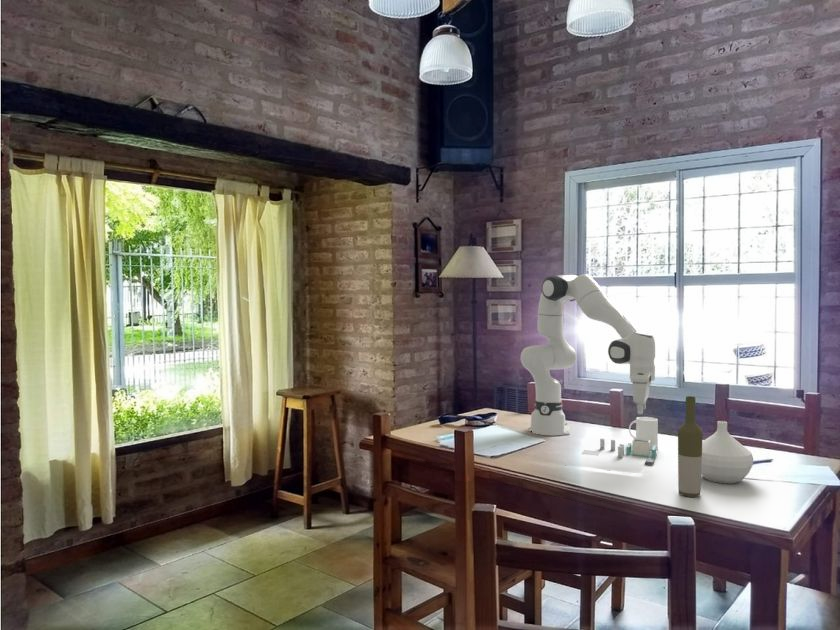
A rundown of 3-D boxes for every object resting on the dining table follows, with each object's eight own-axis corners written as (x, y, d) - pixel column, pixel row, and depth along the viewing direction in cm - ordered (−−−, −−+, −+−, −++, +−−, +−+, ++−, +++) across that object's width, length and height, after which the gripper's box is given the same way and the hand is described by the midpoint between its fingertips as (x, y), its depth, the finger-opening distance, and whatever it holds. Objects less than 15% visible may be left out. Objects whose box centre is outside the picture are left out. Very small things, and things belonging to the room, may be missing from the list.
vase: (750, 491, 192) (751, 430, 192) (687, 482, 202) (687, 423, 201) (754, 476, 208) (755, 420, 207) (695, 468, 217) (696, 414, 217)
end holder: (628, 450, 238) (628, 442, 238) (656, 453, 234) (656, 445, 234) (626, 454, 232) (626, 446, 232) (654, 457, 227) (654, 449, 227)
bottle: (681, 489, 194) (682, 394, 193) (705, 494, 189) (706, 396, 188) (673, 495, 189) (674, 397, 188) (697, 500, 184) (698, 399, 183)
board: (586, 448, 246) (587, 435, 246) (656, 455, 235) (656, 442, 235) (579, 457, 233) (579, 443, 232) (653, 465, 221) (653, 451, 221)
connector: (633, 451, 236) (633, 437, 236) (650, 453, 233) (650, 439, 233) (632, 454, 232) (632, 440, 232) (649, 455, 229) (649, 441, 229)
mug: (623, 446, 250) (624, 417, 249) (636, 443, 255) (636, 414, 254) (650, 452, 240) (650, 421, 240) (662, 449, 245) (662, 419, 245)
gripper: (636, 371, 242) (635, 406, 243) (630, 378, 224) (629, 415, 225) (653, 372, 240) (652, 407, 240) (648, 379, 221) (647, 417, 222)
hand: (641, 411), depth 232 cm, fingers open, 8 cm apart
